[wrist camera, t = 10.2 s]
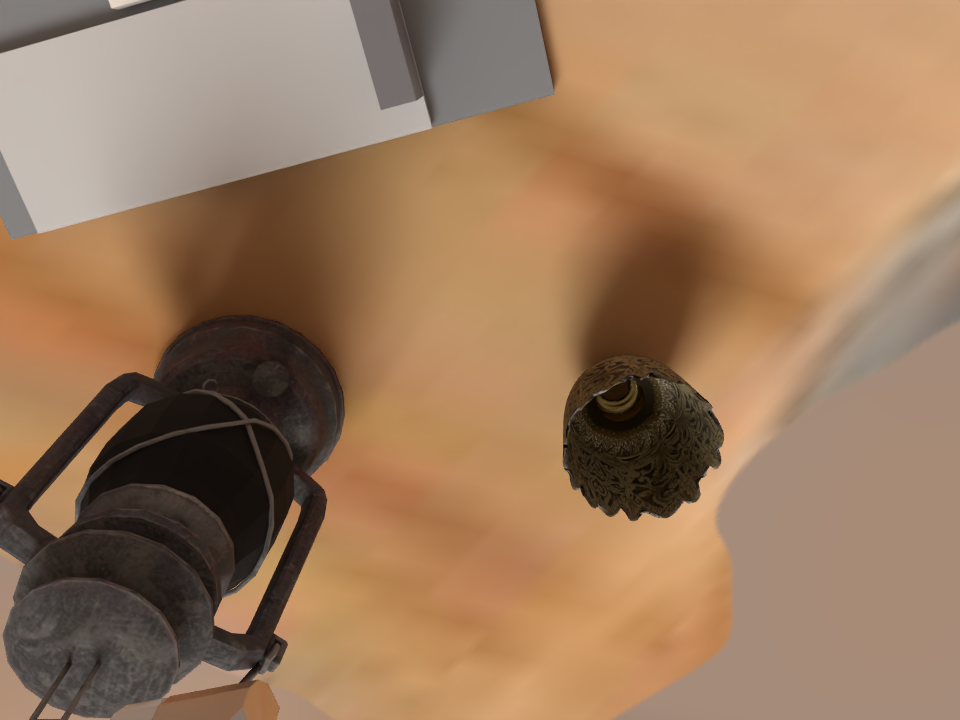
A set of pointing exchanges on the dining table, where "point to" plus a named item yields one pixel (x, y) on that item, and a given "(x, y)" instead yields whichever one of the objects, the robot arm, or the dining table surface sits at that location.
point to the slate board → (433, 36)
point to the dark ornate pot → (638, 438)
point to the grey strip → (200, 100)
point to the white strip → (124, 3)
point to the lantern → (172, 519)
